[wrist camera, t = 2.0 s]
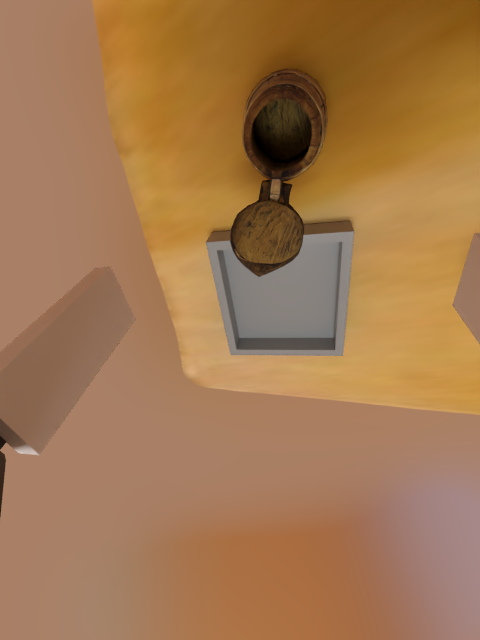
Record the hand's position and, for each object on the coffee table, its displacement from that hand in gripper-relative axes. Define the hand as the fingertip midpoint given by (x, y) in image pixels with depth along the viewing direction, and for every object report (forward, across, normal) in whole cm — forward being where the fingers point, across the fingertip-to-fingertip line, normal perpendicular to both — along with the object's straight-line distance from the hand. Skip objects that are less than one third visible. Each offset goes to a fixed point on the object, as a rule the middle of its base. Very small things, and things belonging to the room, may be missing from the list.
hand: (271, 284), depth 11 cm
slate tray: (+29, -2, -18) cm, 34 cm away
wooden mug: (+29, -1, +1) cm, 29 cm away
